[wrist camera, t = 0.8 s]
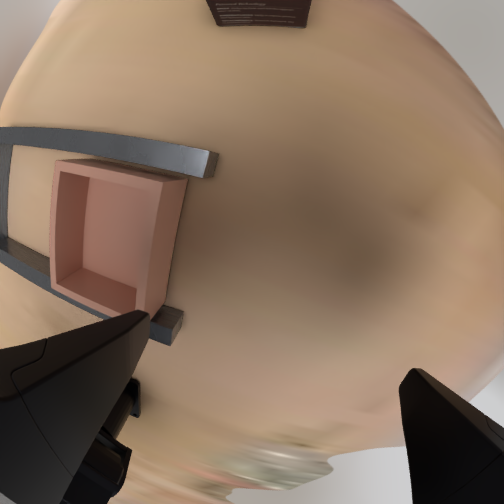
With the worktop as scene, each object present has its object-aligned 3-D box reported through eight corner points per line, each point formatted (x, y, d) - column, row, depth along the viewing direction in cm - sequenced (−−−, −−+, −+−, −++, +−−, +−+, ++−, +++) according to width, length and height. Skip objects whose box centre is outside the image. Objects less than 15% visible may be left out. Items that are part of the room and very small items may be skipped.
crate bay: (181, 327, 20) (170, 346, 18) (2, 246, 20) (-13, 252, 18) (219, 153, 16) (209, 151, 14) (9, 127, 16) (-8, 127, 14)
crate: (165, 301, 19) (142, 330, 15) (81, 269, 19) (51, 288, 15) (188, 178, 16) (163, 182, 13) (91, 158, 16) (55, 160, 13)
